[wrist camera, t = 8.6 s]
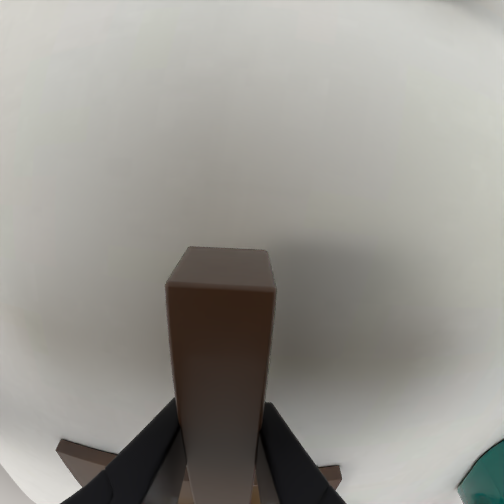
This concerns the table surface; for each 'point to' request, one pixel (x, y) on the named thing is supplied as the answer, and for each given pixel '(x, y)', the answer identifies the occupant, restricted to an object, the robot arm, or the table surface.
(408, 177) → the table surface
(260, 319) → the brown and silver rod
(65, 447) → the butter board
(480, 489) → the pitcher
